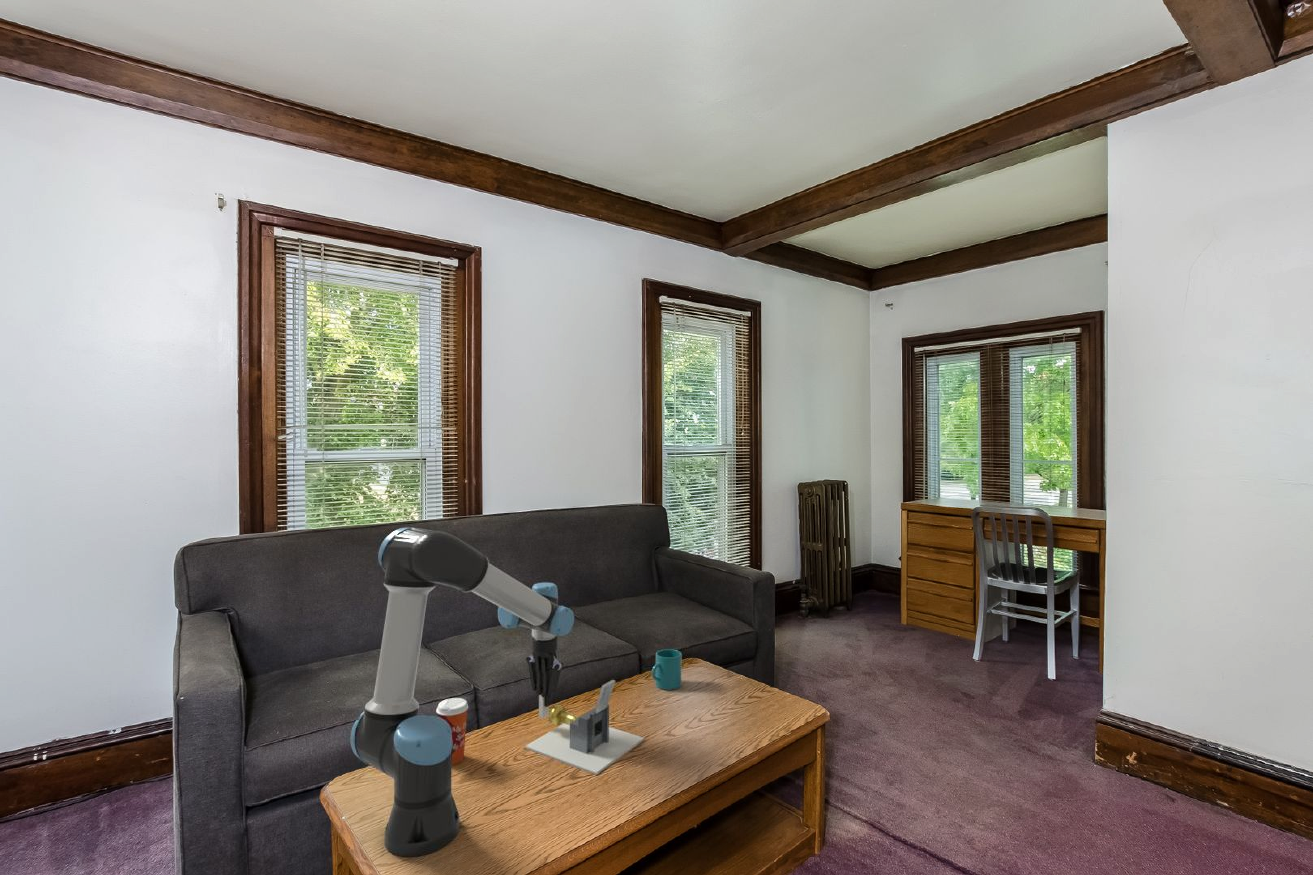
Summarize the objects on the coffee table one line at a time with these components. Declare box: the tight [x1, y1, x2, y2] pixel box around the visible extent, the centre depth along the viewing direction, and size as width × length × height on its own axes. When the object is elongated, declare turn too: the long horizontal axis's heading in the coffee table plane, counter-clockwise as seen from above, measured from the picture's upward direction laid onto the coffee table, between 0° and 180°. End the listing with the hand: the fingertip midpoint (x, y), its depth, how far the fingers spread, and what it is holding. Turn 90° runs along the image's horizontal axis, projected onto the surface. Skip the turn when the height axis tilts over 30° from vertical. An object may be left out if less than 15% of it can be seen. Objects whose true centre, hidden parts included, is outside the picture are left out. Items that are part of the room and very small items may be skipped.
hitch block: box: [570, 704, 610, 754], centre depth 171 cm, size 7×10×10 cm
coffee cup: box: [435, 697, 469, 766], centre depth 164 cm, size 8×8×15 cm
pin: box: [548, 704, 581, 726], centre depth 175 cm, size 13×5×5 cm, turn 58°
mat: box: [524, 723, 645, 776], centre depth 172 cm, size 22×25×1 cm
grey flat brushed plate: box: [594, 679, 616, 714], centre depth 169 cm, size 1×5×8 cm, turn 147°
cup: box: [651, 648, 683, 691], centre depth 213 cm, size 9×12×11 cm
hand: (543, 716), depth 181 cm, fingers closed
